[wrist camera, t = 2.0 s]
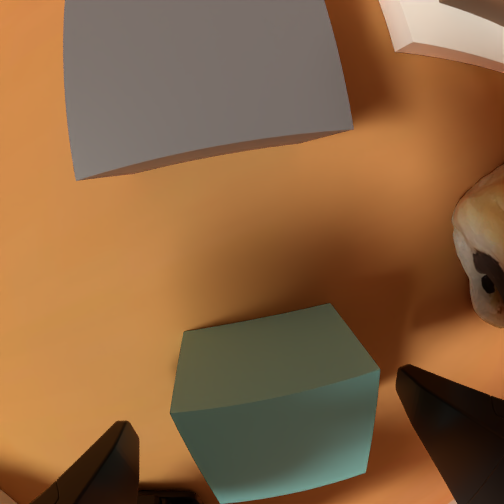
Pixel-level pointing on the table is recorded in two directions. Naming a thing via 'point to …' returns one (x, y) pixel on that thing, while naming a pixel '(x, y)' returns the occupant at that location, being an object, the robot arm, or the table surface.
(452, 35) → the base plate
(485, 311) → the pastry
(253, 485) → the teal brick
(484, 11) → the walnut brick
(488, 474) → the robot arm
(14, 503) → the reusable coffee cup
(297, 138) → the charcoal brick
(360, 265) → the table surface
